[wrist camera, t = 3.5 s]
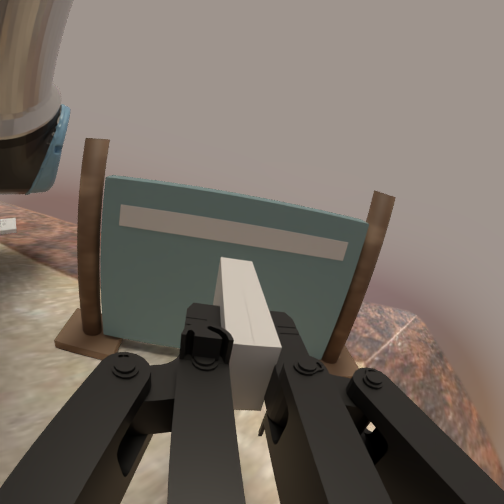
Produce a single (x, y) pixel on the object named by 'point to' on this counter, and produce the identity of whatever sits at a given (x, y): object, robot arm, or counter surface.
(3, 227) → the external hard drive
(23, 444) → the counter surface
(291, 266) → the gate door
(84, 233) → the gate frame
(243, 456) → the counter surface
